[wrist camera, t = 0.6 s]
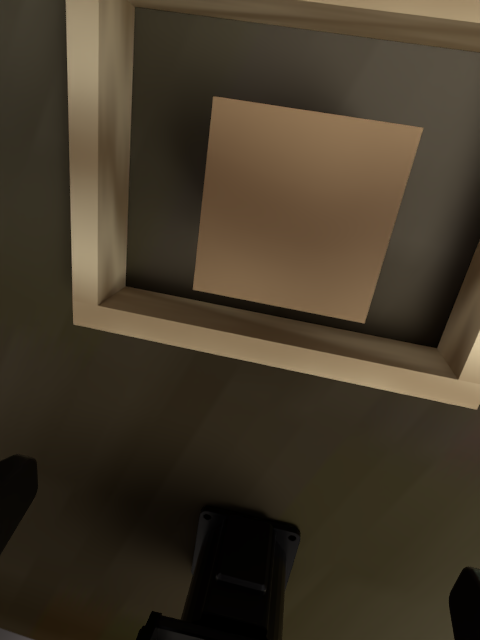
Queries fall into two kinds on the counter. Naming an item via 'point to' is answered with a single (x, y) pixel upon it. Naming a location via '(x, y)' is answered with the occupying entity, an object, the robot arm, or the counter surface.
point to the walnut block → (299, 206)
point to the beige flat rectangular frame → (216, 320)
